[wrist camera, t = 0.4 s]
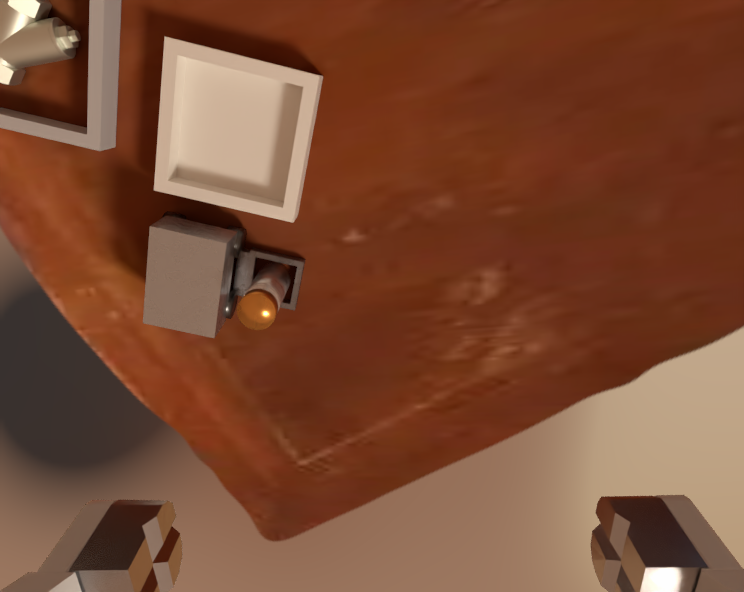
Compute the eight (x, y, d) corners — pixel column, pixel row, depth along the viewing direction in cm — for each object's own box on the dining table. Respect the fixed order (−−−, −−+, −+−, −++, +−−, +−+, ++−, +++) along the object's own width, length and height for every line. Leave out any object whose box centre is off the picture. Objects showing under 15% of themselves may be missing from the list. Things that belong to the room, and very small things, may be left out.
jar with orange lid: (261, 258, 55) (239, 291, 46) (293, 266, 55) (278, 299, 47) (256, 288, 56) (234, 325, 48) (288, 295, 56) (272, 333, 48)
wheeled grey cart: (172, 208, 53) (145, 224, 47) (309, 239, 54) (299, 260, 48) (164, 296, 56) (138, 322, 50) (292, 324, 57) (282, 352, 51)
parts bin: (-37, -61, 44) (-66, -71, 41) (122, -20, 45) (105, -27, 42) (-27, 113, 49) (-51, 115, 47) (115, 147, 50) (100, 151, 48)
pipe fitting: (94, 29, 47) (20, -21, 45) (74, 27, 44) (-8, -27, 42) (61, 106, 50) (-11, 61, 48) (39, 110, 46) (-39, 62, 44)
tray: (177, 39, 47) (164, 36, 44) (323, 75, 48) (319, 75, 45) (165, 184, 52) (153, 190, 49) (297, 215, 53) (293, 222, 50)
